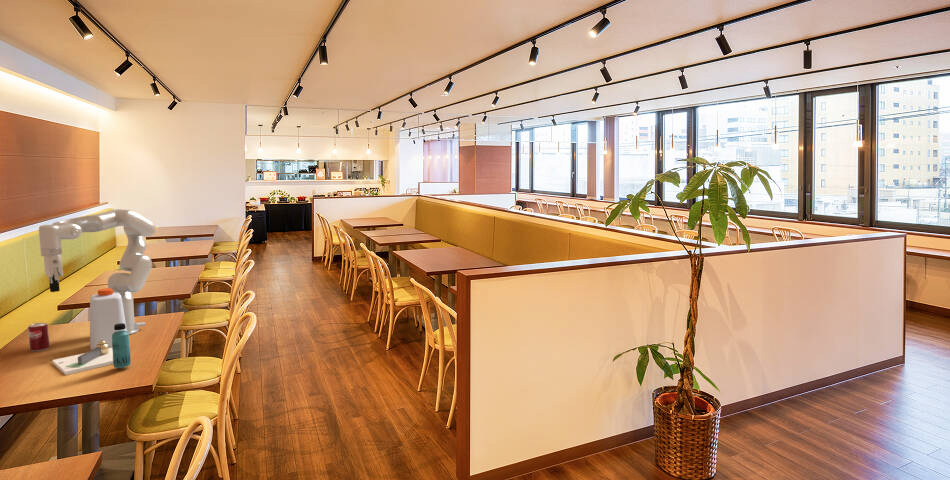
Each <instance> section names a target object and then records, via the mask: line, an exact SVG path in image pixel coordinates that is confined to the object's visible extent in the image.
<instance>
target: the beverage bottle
mask: <svg viewBox="0 0 950 480" xmlns="http://www.w3.org/2000/svg"><path fill="white" fill-rule="evenodd" d="M125 328H126V326H125V324H124V323H119V324H115V325H114V330H121V331H116V332H114V333H113V334H112V349H113V364H112V365H113V368H115V369H122V368H128V367H129V366H131V363H132V362H131V361H132V360H131V348H130V346H131V345H130V334H129V333H128V332H127V331H124V330H123V329H125Z"/></svg>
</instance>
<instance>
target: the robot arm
mask: <svg viewBox="0 0 950 480" xmlns="http://www.w3.org/2000/svg"><path fill="white" fill-rule="evenodd" d="M118 227H123V231H124V234H125V235H126V237H127V245H126V248H125V251H124V252H123V255H122V257H121V258H120V261H119V268H120V269H121V270H122V271H124V272H115V273H112V274H111V275H110V276H109V277H108V279H107V287H108V288H111V289H113V293H119V294H120V295H121V297H122V303H123V310H124V316H125V322H126V329H127V332H128V333H129V335H133V334H136V333H138V332H139V327H144V326H146V322H145V321H143V322H141V321H140V322H139V321H138V322H136V321H135V312H134V311H135V310H134V309H135V307H134V296H133V294H135V293H138V292H140V291H141V290H142V289H143V287H144V286H145V284H146V282H147V279H148V277H149V275H150V272H151V270H152V267H153V261H152V259H151V258H150V256H149V255H145V252H146V249H147V242H146V238H149V237H152V236H153V235H154V234H155V232H156V225H155V224H154V222H153V221H151V220H150V219H148V218H146V217H144V216H143V215H141V214H140V213H139V212H136V211H134V210H130V209H121V208H119V209H118V208H116V209H113V210H109V211H108V210H107V211H104V212H103V211H102V212H100V213H95V214H90V215H85V216H80V217H79V216H78V217H72V218H68V219H67V218H66V219H62V220H59V221H55V222H53V223H51V224H42V225H40V226H39V227H38V236H39V247H40V248H39V249H40V256H41V257H43V264H44V265H43V266H44V273H45V275H46V276H47V277H48V280H49V281H48V282H49V284H48V285H49V292H50V293H55V292H60V278H59V277H63V276H64V270H63V269H64V267H63V262H62V255H63V247H62V240H75V239H77V238H79V237H81V235H82V233H97V232H98V233H99V232H103V231H107V230H110V229H114V228H118ZM127 272H128V273H127Z"/></svg>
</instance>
